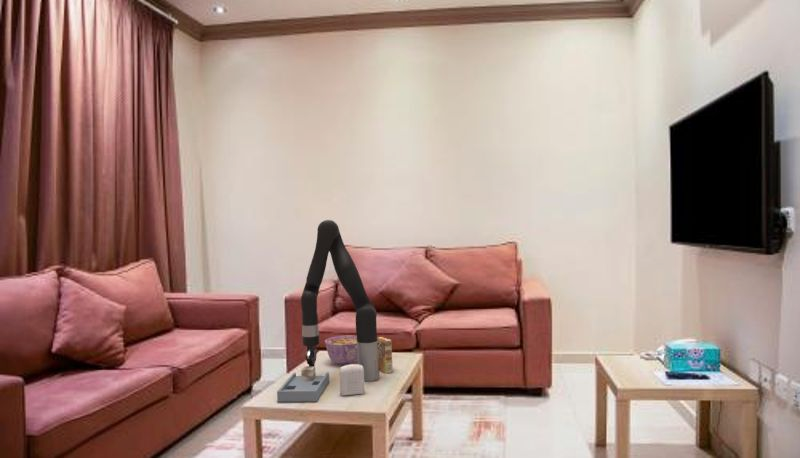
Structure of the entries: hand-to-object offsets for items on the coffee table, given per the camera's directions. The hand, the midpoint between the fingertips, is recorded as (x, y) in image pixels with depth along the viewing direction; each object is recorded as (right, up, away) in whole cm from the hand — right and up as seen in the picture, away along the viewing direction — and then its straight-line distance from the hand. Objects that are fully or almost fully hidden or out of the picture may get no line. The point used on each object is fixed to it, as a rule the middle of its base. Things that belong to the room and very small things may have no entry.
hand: (312, 372), depth 263 cm
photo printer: (+20, -4, -19) cm, 28 cm away
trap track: (-1, -5, -15) cm, 16 cm away
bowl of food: (+12, -3, +29) cm, 32 cm away
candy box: (+32, -3, +13) cm, 35 cm away
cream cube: (0, -1, -7) cm, 7 cm away
